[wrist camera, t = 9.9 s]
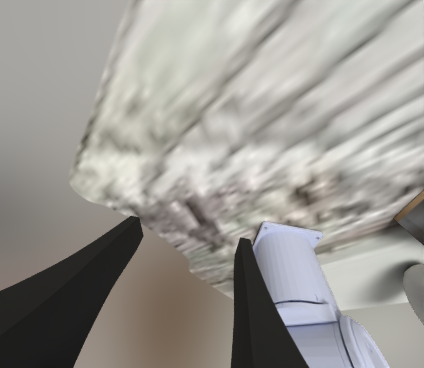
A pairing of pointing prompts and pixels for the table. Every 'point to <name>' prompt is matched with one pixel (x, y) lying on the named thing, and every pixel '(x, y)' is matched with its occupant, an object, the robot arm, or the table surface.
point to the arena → (413, 217)
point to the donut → (415, 289)
